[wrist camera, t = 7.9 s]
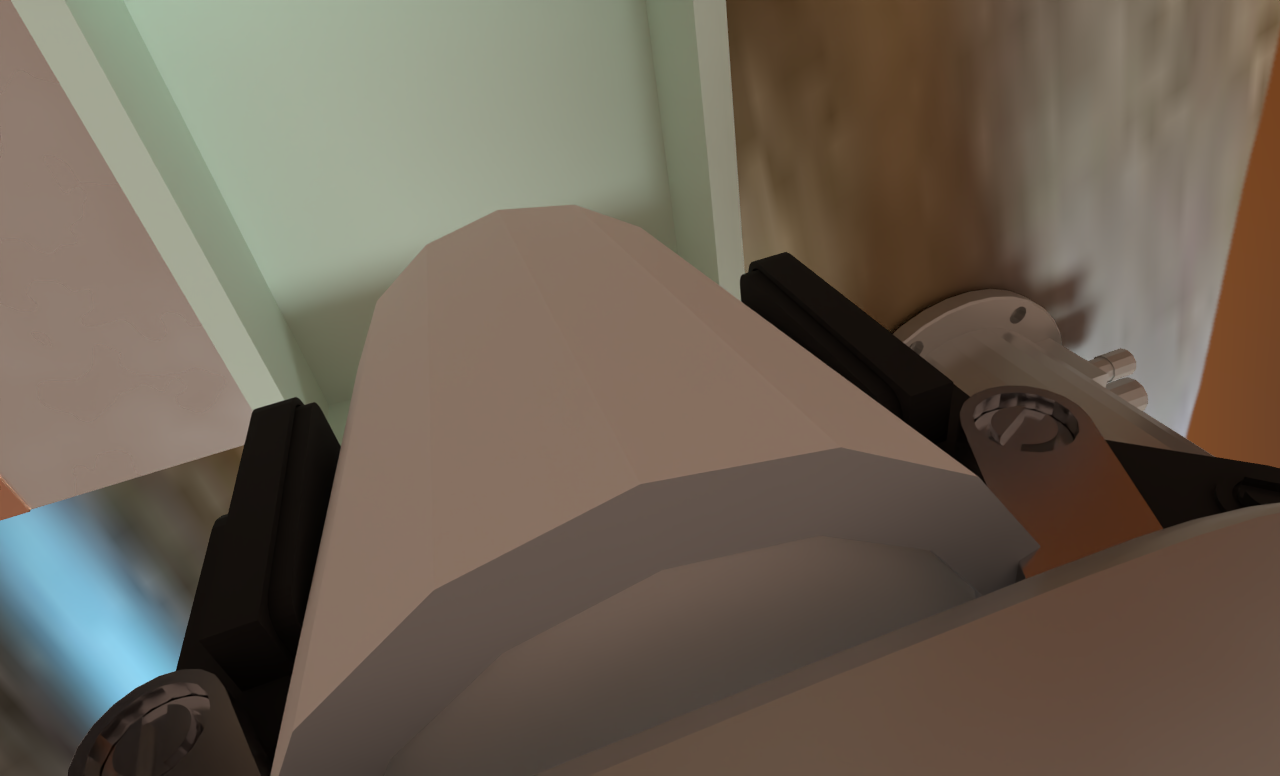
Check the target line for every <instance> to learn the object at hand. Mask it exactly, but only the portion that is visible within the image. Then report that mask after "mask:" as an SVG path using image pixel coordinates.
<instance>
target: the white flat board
mask: <svg viewBox="0 0 1280 776" xmlns="http://www.w3.org/2000/svg"><path fill="white" fill-rule="evenodd" d="M252 412H253V411H252V409H251V407H250V405H249V404H248V402H247V400H246V399H245V397H244V395H243V394H242V392H241V390H240V389H239V387H238V385H237V383H236V382H235V380H234V378H233V377H232V375H231V373H230V372H229V370H228V368H227V366H226V365H225V363H224V361H223V360H222V358H221V356H220V355H219V353H218V351H217V349H216V348H215V346H214V344H213V343H212V341H211V339H210V338H209V336H208V334H207V333H206V331H205V329H204V327H203V326H202V324H201V322H200V321H199V319H198V317H197V316H196V314H195V312H194V310H193V309H192V307H191V305H190V304H189V302H188V300H187V299H186V297H185V295H184V294H183V292H182V290H181V288H180V287H179V285H178V283H177V282H176V280H175V278H174V277H173V275H172V273H171V271H170V270H169V268H168V266H167V265H166V263H165V261H164V260H163V258H162V256H161V254H160V253H159V251H158V249H157V248H156V246H155V244H154V243H153V241H152V239H151V238H150V236H149V234H148V232H147V231H146V229H145V227H144V226H143V224H142V222H141V221H140V219H139V217H138V215H137V214H136V212H135V210H134V209H133V207H132V205H131V204H130V202H129V200H128V198H127V197H126V195H125V193H124V192H123V190H122V188H121V187H120V185H119V183H118V182H117V180H116V178H115V176H114V175H113V173H112V171H111V170H110V168H109V166H108V165H107V163H106V161H105V159H104V158H103V156H102V154H101V153H100V151H99V149H98V148H97V146H96V144H95V143H94V141H93V139H92V137H91V136H90V134H89V132H88V131H87V129H86V127H85V126H84V124H83V122H82V120H81V119H80V117H79V115H78V114H77V112H76V110H75V109H74V107H73V105H72V103H71V102H70V100H69V98H68V97H67V95H66V93H65V92H64V90H63V88H62V87H61V85H60V83H59V81H58V80H57V78H56V76H55V75H54V73H53V71H52V70H51V68H50V66H49V64H48V63H47V61H46V59H45V58H44V56H43V54H42V53H41V51H40V49H39V48H38V46H37V44H36V42H35V41H34V39H33V37H32V36H31V34H30V32H29V31H28V29H27V27H26V25H25V24H24V22H23V20H22V19H21V17H20V15H19V14H18V12H17V10H16V8H15V7H14V5H13V3H12V2H11V0H0V520H3V519H7V518H10V517H13V516H17V515H20V514H23V513H26V512H30V510H31V509H34V508H37V507H41V506H44V505H47V504H51V503H54V502H57V501H61V500H64V499H67V498H70V497H74V496H77V495H80V494H84V493H87V492H90V491H93V490H97V489H100V488H103V487H107V486H110V485H113V484H117V483H120V482H123V481H126V480H130V479H133V478H136V477H140V476H143V475H146V474H149V473H153V472H156V471H159V470H163V469H166V468H169V467H173V466H176V465H179V464H182V463H186V462H189V461H192V460H196V459H199V458H202V457H206V456H209V455H212V454H215V453H219V452H222V451H225V450H229V449H232V448H235V447H238V446H242V445H244V444H245V440H246V436H247V432H248V427H249V423H250V419H251V415H252Z"/></svg>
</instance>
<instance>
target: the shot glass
mask: <svg viewBox="0 0 1280 776" xmlns="http://www.w3.org/2000/svg"><path fill="white" fill-rule="evenodd" d="M1040 547H1041V546H1040V545H1039V544H1038V543H1037V542H1036V541H1035V540H1034V538H1033V537H1032V536H1031V535H1030V534H1029V533H1028V532H1027V531H1026V529H1025V528H1024V527H1023V526H1022V525H1021V524H1020V523H1019V522H1018V520H1017V519H1016V518H1015V517H1014V516H1013V515H1012V514H1011V513H1010V512H1009V510H1008V509H1007V508H1006V507H1005V506H1004V505H1003V504H1002V503H1001V501H1000V500H999V499H998V498H997V497H996V496H995V495H994V494H993V493H992V491H991V490H990V489H989V488H988V487H987V486H986V485H985V484H984V482H983V481H982V480H981V479H980V478H979V477H978V476H977V475H975V474H974V473H973V472H971V471H970V470H969V469H967V468H966V467H965V466H963V465H962V464H960V463H959V462H958V461H956V460H955V459H954V458H952V457H951V456H950V455H948V454H947V453H946V452H944V451H943V450H942V449H940V448H939V447H937V446H936V445H935V444H933V443H932V442H931V441H929V440H928V439H927V438H925V437H924V436H923V435H921V434H920V433H918V432H917V431H916V430H914V429H913V428H912V427H910V426H909V425H908V424H906V423H905V422H904V421H902V420H901V419H900V418H898V417H897V416H895V415H894V414H893V413H891V412H890V411H889V410H887V409H886V408H885V407H883V406H882V405H881V404H879V403H878V402H876V401H875V400H874V399H872V398H871V397H870V396H868V395H867V394H866V393H864V392H863V391H862V390H860V389H859V388H858V387H856V386H855V385H853V384H852V383H851V382H849V381H848V380H847V379H845V378H844V377H843V376H841V375H840V374H839V373H837V372H836V371H834V370H833V369H832V368H830V367H829V366H828V365H826V364H825V363H824V362H822V361H821V360H820V359H818V358H817V357H816V356H814V355H813V354H811V353H810V352H809V351H807V350H806V349H805V348H803V347H802V346H801V345H799V344H798V343H797V342H795V341H794V340H792V339H791V338H790V337H788V336H787V335H786V334H784V333H783V332H782V331H780V330H779V329H778V328H776V327H775V326H774V325H772V324H771V323H769V322H768V321H767V320H765V319H764V318H763V317H761V316H760V315H759V314H757V313H756V312H755V311H753V310H752V309H750V308H749V307H748V306H746V305H745V304H744V303H742V302H741V301H740V300H738V299H737V298H736V297H734V296H733V295H732V294H730V293H729V292H727V291H726V290H725V289H723V288H722V287H721V286H719V285H718V284H717V283H715V282H714V281H713V280H711V279H710V278H708V277H707V276H706V275H704V274H703V273H702V272H700V271H699V270H698V269H696V268H695V267H694V266H692V265H691V264H690V263H688V262H687V261H685V260H684V259H683V258H681V257H680V256H679V255H677V254H676V253H675V252H673V251H672V250H671V249H669V248H668V247H666V246H665V245H664V244H662V243H661V242H660V241H658V240H657V239H656V238H654V237H653V236H652V235H650V234H649V233H648V232H646V231H645V230H643V229H642V228H641V227H638V226H635V225H632V224H629V223H627V222H624V221H621V220H618V219H615V218H612V217H609V216H606V215H603V214H600V213H597V212H594V211H592V210H589V209H586V208H583V207H580V206H577V205H561V206H547V207H533V208H518V209H504V210H496V211H494V212H492V213H490V214H488V215H486V216H484V217H482V218H480V219H478V220H476V221H474V222H472V223H470V224H468V225H466V226H464V227H462V228H459V229H457V230H455V231H453V232H451V233H449V234H447V235H445V236H443V237H441V238H439V239H437V240H435V241H433V242H431V243H429V244H427V245H426V246H425V247H424V248H423V249H422V250H421V251H420V252H419V254H418V255H417V256H416V257H415V258H414V259H413V260H412V262H411V263H410V264H409V265H408V266H407V267H406V268H405V270H404V271H403V272H402V273H401V274H400V275H399V276H398V278H397V279H396V280H395V281H394V282H393V283H392V284H391V286H390V287H389V288H388V289H387V290H386V291H385V292H384V294H383V295H382V296H381V297H380V298H379V299H378V300H377V302H376V306H375V309H374V313H373V316H372V320H371V323H370V327H369V330H368V334H367V337H366V341H365V344H364V348H363V351H362V355H361V358H360V362H359V365H358V370H357V374H356V379H355V384H354V388H353V393H352V398H351V402H350V407H349V412H348V416H347V421H346V425H345V430H344V435H343V439H342V444H341V449H340V453H339V458H338V463H337V467H336V472H335V477H334V481H333V486H332V491H331V495H330V500H329V505H328V509H327V514H326V519H325V523H324V528H323V533H322V537H321V542H320V546H319V551H318V556H317V560H316V565H315V570H314V574H313V579H312V584H311V588H310V593H309V598H308V602H307V607H306V612H305V616H304V621H303V626H302V630H301V635H300V640H299V644H298V649H297V654H296V658H295V663H294V668H293V672H292V677H291V681H290V686H289V691H288V695H287V700H286V705H285V709H284V714H283V719H282V723H281V728H280V733H279V737H278V742H277V747H276V751H275V756H274V761H273V765H272V770H271V775H270V776H533V775H536V774H538V773H541V772H543V771H546V770H548V769H550V768H553V767H555V766H558V765H560V764H563V763H565V762H568V761H570V760H573V759H575V758H578V757H580V756H582V755H585V754H587V753H590V752H592V751H595V750H597V749H600V748H602V747H605V746H607V745H610V744H612V743H615V742H617V741H620V740H622V739H625V738H627V737H630V736H632V735H635V734H637V733H640V732H642V731H645V730H647V729H650V728H652V727H655V726H657V725H660V724H662V723H665V722H667V721H670V720H672V719H675V718H677V717H679V716H682V715H684V714H687V713H689V712H692V711H694V710H697V709H699V708H702V707H704V706H707V705H709V704H712V703H714V702H717V701H719V700H722V699H724V698H727V697H729V696H732V695H734V694H737V693H739V692H742V691H744V690H747V689H749V688H752V687H754V686H757V685H759V684H762V683H764V682H767V681H769V680H772V679H774V678H777V677H779V676H782V675H784V674H787V673H789V672H792V671H794V670H797V669H799V668H802V667H804V666H807V665H809V664H812V663H814V662H817V661H819V660H822V659H824V658H827V657H829V656H832V655H834V654H837V653H839V652H842V651H844V650H847V649H849V648H852V647H855V646H857V645H860V644H862V643H865V642H867V641H870V640H872V639H875V638H877V637H880V636H882V635H885V634H887V633H890V632H893V631H895V630H898V629H900V628H903V627H905V626H908V625H910V624H913V623H915V622H918V621H920V620H923V619H925V618H928V617H931V616H933V615H936V614H938V613H941V612H943V611H946V610H948V609H951V608H953V607H956V606H958V605H961V604H963V603H966V602H969V601H971V600H974V599H976V598H979V597H981V596H984V595H986V594H989V593H991V592H994V591H996V590H999V589H1001V588H1004V587H1007V586H1009V585H1012V584H1014V583H1015V581H1016V575H1017V570H1018V562H1019V561H1020V560H1021V559H1023V558H1024V557H1026V556H1027V555H1029V554H1030V553H1032V552H1033V551H1035V550H1037V549H1038V548H1040Z"/></svg>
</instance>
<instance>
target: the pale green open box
mask: <svg viewBox="0 0 1280 776" xmlns="http://www.w3.org/2000/svg"><path fill="white" fill-rule="evenodd" d="M11 2H12V3H13V5H14V7H15V8H16V10H17V12H18V14H19V15H20V17H21V19H22V20H23V22H24V24H25V25H26V27H27V29H28V31H29V32H30V34H31V36H32V37H33V39H34V41H35V42H36V44H37V46H38V48H39V49H40V51H41V53H42V54H43V56H44V58H45V59H46V61H47V63H48V64H49V66H50V68H51V70H52V71H53V73H54V75H55V76H56V78H57V80H58V81H59V83H60V85H61V87H62V88H63V90H64V92H65V93H66V95H67V97H68V98H69V100H70V102H71V103H72V105H73V107H74V109H75V110H76V112H77V114H78V115H79V117H80V119H81V120H82V122H83V124H84V126H85V127H86V129H87V131H88V132H89V134H90V136H91V137H92V139H93V141H94V143H95V144H96V146H97V148H98V149H99V151H100V153H101V154H102V156H103V158H104V159H105V161H106V163H107V165H108V166H109V168H110V170H111V171H112V173H113V175H114V176H115V178H116V180H117V182H118V183H119V185H120V187H121V188H122V190H123V192H124V193H125V195H126V197H127V198H128V200H129V202H130V204H131V205H132V207H133V209H134V210H135V212H136V214H137V215H138V217H139V219H140V221H141V222H142V224H143V226H144V227H145V229H146V231H147V232H148V234H149V236H150V238H151V239H152V241H153V243H154V244H155V246H156V248H157V249H158V251H159V253H160V254H161V256H162V258H163V260H164V261H165V263H166V265H167V266H168V268H169V270H170V271H171V273H172V275H173V277H174V278H175V280H176V282H177V283H178V285H179V287H180V288H181V290H182V292H183V294H184V295H185V297H186V299H187V300H188V302H189V304H190V305H191V307H192V309H193V310H194V312H195V314H196V316H197V317H198V319H199V321H200V322H201V324H202V326H203V327H204V329H205V331H206V333H207V334H208V336H209V338H210V339H211V341H212V343H213V344H214V346H215V348H216V349H217V351H218V353H219V355H220V356H221V358H222V360H223V361H224V363H225V365H226V366H227V368H228V370H229V372H230V373H231V375H232V377H233V378H234V380H235V382H236V383H237V385H238V387H239V389H240V390H241V392H242V394H243V395H244V397H245V399H246V400H247V402H248V404H249V405H250V407H251V409H252V411H253V410H254V409H257V408H260V407H263V406H267V405H270V404H273V403H277V402H280V401H284V400H287V399H290V398H294V397H297V398H299V399H300V400H301V401H302V402H303V403H304V405H306V404H309V403H313V402H315V403H317V404H318V405H319V406H320V408H321V410H322V411H323V413H324V415H325V417H326V419H327V421H328V423H329V425H330V427H331V429H332V431H333V433H334V434H335V436H336V438H337V440H338V442H339V444H340V446H341V444H342V439H343V435H344V430H345V425H346V421H347V416H348V412H349V407H350V402H351V398H352V393H353V388H354V384H355V379H356V374H357V370H358V365H359V362H360V358H361V355H362V351H363V348H364V344H365V341H366V337H367V334H368V330H369V327H370V323H371V320H372V316H373V313H374V309H375V306H376V302H377V300H378V299H379V298H380V297H381V296H382V295H383V294H384V292H385V291H386V290H387V289H388V288H389V287H390V286H391V284H392V283H393V282H394V281H395V280H396V279H397V278H398V276H399V275H400V274H401V273H402V272H403V271H404V270H405V268H406V267H407V266H408V265H409V264H410V263H411V262H412V260H413V259H414V258H415V257H416V256H417V255H418V254H419V252H420V251H421V250H422V249H423V248H424V247H425V246H426V245H427V244H429V243H431V242H433V241H435V240H437V239H439V238H441V237H443V236H445V235H447V234H449V233H451V232H453V231H455V230H457V229H459V228H462V227H464V226H466V225H468V224H470V223H472V222H474V221H476V220H478V219H480V218H482V217H484V216H486V215H488V214H490V213H492V212H494V211H496V210H504V209H518V208H533V207H547V206H561V205H577V206H580V207H583V208H586V209H589V210H592V211H594V212H597V213H600V214H603V215H606V216H609V217H612V218H615V219H618V220H621V221H624V222H627V223H629V224H632V225H635V226H638V227H641V228H642V229H643V230H645V231H646V232H648V233H649V234H650V235H652V236H653V237H654V238H656V239H657V240H658V241H660V242H661V243H662V244H664V245H665V246H666V247H668V248H669V249H671V250H672V251H673V252H675V253H676V254H677V255H679V256H680V257H681V258H683V259H684V260H685V261H687V262H688V263H690V264H691V265H692V266H694V267H695V268H696V269H698V270H699V271H700V272H702V273H703V274H704V275H706V276H707V277H708V278H710V279H711V280H713V281H714V282H715V283H717V284H718V285H719V286H721V287H722V288H723V289H725V290H726V291H727V292H729V293H730V294H732V295H733V296H734V297H736V298H737V299H738V300H740V301H741V294H740V277H741V275H742V274H745V272H744V257H743V243H742V228H741V214H740V199H739V185H738V171H737V156H736V142H735V127H734V113H733V98H732V84H731V69H730V55H729V40H728V26H727V11H726V0H11Z"/></svg>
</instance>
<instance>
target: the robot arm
mask: <svg viewBox="0 0 1280 776" xmlns="http://www.w3.org/2000/svg"><path fill="white" fill-rule="evenodd" d="M740 294H741V302H742V303H744V304H745V305H746V306H748V307H749V308H750V309H752V310H753V311H755V312H756V313H757V314H759V315H760V316H761V317H763V318H764V319H765V320H767V321H768V322H769V323H771V324H772V325H774V326H775V327H776V328H778V329H779V330H780V331H782V332H783V333H784V334H786V335H787V336H788V337H790V338H791V339H792V340H794V341H795V342H797V343H798V344H799V345H801V346H802V347H803V348H805V349H806V350H807V351H809V352H810V353H811V354H813V355H814V356H816V357H817V358H818V359H820V360H821V361H822V362H824V363H825V364H826V365H828V366H829V367H830V368H832V369H833V370H834V371H836V372H837V373H839V374H840V375H841V376H843V377H844V378H845V379H847V380H848V381H849V382H851V383H852V384H853V385H855V386H856V387H858V388H859V389H860V390H862V391H863V392H864V393H866V394H867V395H868V396H870V397H871V398H872V399H874V400H875V401H876V402H878V403H879V404H881V405H882V406H883V407H885V408H886V409H887V410H889V411H890V412H891V413H893V414H894V415H895V416H897V417H898V418H900V419H901V420H902V421H904V422H905V423H906V424H908V425H909V426H910V427H912V428H913V429H914V430H916V431H917V432H918V433H920V434H921V435H923V436H924V437H925V438H927V439H928V440H929V441H931V442H932V443H933V444H935V445H936V446H937V447H939V448H940V449H942V450H943V451H944V452H946V453H947V454H948V455H950V456H951V457H952V458H954V459H955V460H956V461H958V462H959V463H960V464H962V465H963V466H965V467H966V468H967V469H969V470H970V471H971V472H973V473H974V474H975V475H977V476H978V477H979V478H980V479H981V480H982V481H983V482H984V484H985V485H986V486H987V487H988V488H989V489H990V490H991V491H992V493H993V494H994V495H995V496H996V497H997V498H998V499H999V500H1000V501H1001V503H1002V504H1003V505H1004V506H1005V507H1006V508H1007V509H1008V510H1009V512H1010V513H1011V514H1012V515H1013V516H1014V517H1015V518H1016V519H1017V520H1018V522H1019V523H1020V524H1021V525H1022V526H1023V527H1024V528H1025V529H1026V531H1027V532H1028V533H1029V534H1030V535H1031V536H1032V537H1033V538H1034V540H1035V541H1036V542H1037V543H1038V544H1039V545H1040V546H1041V547H1040V548H1038V549H1037V550H1035V551H1033V552H1032V553H1030V554H1029V555H1027V556H1026V557H1024V558H1023V559H1021V560H1020V561H1019V562H1018V570H1017V575H1016V581H1015V583H1014V584H1012V585H1009V586H1007V587H1004V588H1001V589H999V590H996V591H994V592H991V593H989V594H986V595H984V596H981V597H979V598H976V599H974V600H971V601H969V602H966V603H963V604H961V605H958V606H956V607H953V608H951V609H948V610H946V611H943V612H941V613H938V614H936V615H933V616H931V617H928V618H925V619H923V620H920V621H918V622H915V623H913V624H910V625H908V626H905V627H903V628H900V629H898V630H895V631H893V632H890V633H887V634H885V635H882V636H880V637H877V638H875V639H872V640H870V641H867V642H865V643H862V644H860V645H857V646H855V647H852V648H849V649H847V650H844V651H842V652H839V653H837V654H834V655H832V656H829V657H827V658H824V659H822V660H819V661H817V662H814V663H812V664H809V665H807V666H804V667H802V668H799V669H797V670H794V671H792V672H789V673H787V674H784V675H782V676H779V677H777V678H774V679H772V680H769V681H767V682H764V683H762V684H759V685H757V686H754V687H752V688H749V689H747V690H744V691H742V692H739V693H737V694H734V695H732V696H729V697H727V698H724V699H722V700H719V701H717V702H714V703H712V704H709V705H707V706H704V707H702V708H699V709H697V710H694V711H692V712H689V713H687V714H684V715H682V716H679V717H677V718H675V719H672V720H670V721H667V722H665V723H662V724H660V725H657V726H655V727H652V728H650V729H647V730H645V731H642V732H640V733H637V734H635V735H632V736H630V737H627V738H625V739H622V740H620V741H617V742H615V743H612V744H610V745H607V746H605V747H602V748H600V749H597V750H595V751H592V752H590V753H587V754H585V755H582V756H580V757H578V758H575V759H573V760H570V761H568V762H565V763H563V764H560V765H558V766H555V767H553V768H550V769H548V770H546V771H543V772H541V773H538V774H536V775H533V776H1280V468H1276V467H1272V466H1267V465H1261V464H1255V463H1248V462H1241V461H1236V460H1230V459H1223V458H1217V457H1214V456H1212V455H1211V454H1209V453H1208V452H1206V451H1205V450H1203V449H1201V448H1200V447H1198V446H1197V445H1195V444H1194V443H1192V442H1191V441H1189V440H1187V439H1186V438H1184V437H1183V436H1181V435H1179V434H1178V433H1176V432H1175V431H1173V430H1171V429H1170V428H1168V427H1167V426H1165V425H1164V424H1162V423H1160V422H1159V421H1157V420H1156V419H1154V418H1152V417H1151V416H1149V415H1148V414H1146V413H1145V412H1143V410H1145V408H1146V406H1147V404H1148V397H1147V393H1146V391H1145V389H1144V387H1143V386H1142V385H1141V384H1140V383H1139V382H1137V381H1136V380H1134V379H1131V378H1128V377H1127V378H1122V377H1125V376H1127V375H1130V374H1133V372H1134V371H1135V369H1136V361H1135V359H1134V356H1133V355H1132V354H1131V353H1130V352H1129V351H1128V350H1125V349H1121V348H1120V349H1117V350H1114V351H1111V352H1109V353H1106V354H1103V355H1100V356H1097V357H1095V358H1094V359H1093V360H1090V361H1087V360H1085V359H1083V358H1081V357H1080V356H1078V355H1077V354H1075V353H1073V352H1072V351H1070V350H1068V349H1067V348H1065V347H1063V346H1062V339H1061V334H1060V331H1059V329H1058V327H1057V324H1056V322H1055V320H1054V319H1053V318H1052V316H1051V315H1050V314H1049V313H1048V312H1047V311H1046V310H1045V309H1044V308H1043V307H1041V306H1040V305H1038V304H1036V303H1035V302H1033V301H1031V300H1030V299H1028V298H1026V297H1025V296H1022V295H1019V294H1017V293H1014V292H1012V291H1007V290H997V289H986V290H978V291H970V292H967V293H963V294H960V295H957V296H954V297H951V298H948V299H945V300H944V301H942V302H940V303H938V304H936V305H934V306H932V307H930V308H928V309H926V310H924V311H922V312H921V313H919V314H918V315H917V316H915V317H914V318H912V319H911V320H909V321H908V322H906V323H905V324H904V325H902V326H901V327H900V328H899V329H897V330H896V331H895V332H894V333H893V334H892V333H890V332H889V331H888V330H887V329H885V328H884V327H883V326H882V325H880V324H879V323H878V322H876V321H875V320H874V319H873V318H871V317H870V316H869V315H867V314H866V313H865V312H864V311H862V310H861V309H860V308H859V307H857V306H856V305H855V304H853V303H852V302H851V301H850V300H848V299H847V298H846V297H844V296H843V295H842V294H841V293H839V292H838V291H837V290H836V289H834V288H833V287H832V286H830V285H829V284H828V283H827V282H825V281H824V280H823V279H822V278H820V277H819V276H818V275H816V274H815V273H814V272H813V271H811V270H810V269H809V268H807V267H806V266H805V265H804V264H802V263H801V262H800V261H799V260H797V259H796V258H795V257H793V256H792V255H791V254H789V253H787V252H784V253H781V254H777V255H774V256H771V257H767V258H764V259H760V260H757V261H754V262H751V264H750V266H749V270H748V273H746V274H742V275H741V277H740ZM1119 378H1122V379H1119ZM1116 379H1118V380H1116ZM1113 380H1116V381H1113ZM1110 381H1113V382H1110ZM1107 382H1110V383H1107ZM340 449H341V446H340V444H339V442H338V440H337V438H336V436H335V434H334V433H333V431H332V429H331V427H330V425H329V423H328V421H327V419H326V417H325V415H324V413H323V411H322V410H321V408H320V406H319V405H318V404H317V403H315V402H313V403H309V404H306V405H304V403H303V402H302V401H301V400H300V399H299V398H297V397H294V398H290V399H287V400H284V401H280V402H277V403H273V404H270V405H267V406H263V407H260V408H257V409H254V410H253V412H252V415H251V419H250V423H249V427H248V432H247V436H246V440H245V444H244V449H243V453H242V457H241V461H240V466H239V470H238V474H237V478H236V483H235V487H234V491H233V496H232V500H231V504H230V508H229V513H228V514H227V515H223V516H221V517H220V518H218V519H217V520H216V521H215V524H214V526H213V528H212V532H211V535H210V539H209V543H208V547H207V551H206V555H205V559H204V563H203V567H202V571H201V575H200V579H199V582H198V586H197V590H196V594H195V598H194V602H193V606H192V610H191V614H190V618H189V622H188V626H187V629H186V633H185V637H184V641H183V645H182V649H181V653H180V657H179V661H178V665H177V669H176V671H175V672H171V673H168V674H165V675H161V676H158V677H157V678H155V679H153V680H151V681H149V682H147V683H145V684H143V685H141V686H139V687H137V688H135V689H134V690H133V691H131V692H130V693H129V694H127V695H126V696H125V697H123V698H122V699H121V700H119V701H118V702H117V703H115V704H114V705H113V706H112V707H111V708H110V709H109V710H108V711H107V712H106V713H105V714H104V715H103V716H102V717H101V718H100V719H99V720H98V721H97V722H96V723H95V724H94V725H93V726H92V728H91V729H90V730H89V732H88V733H87V735H86V736H85V737H84V739H83V740H82V742H81V743H80V745H79V746H78V747H77V750H76V752H75V754H74V757H73V759H72V762H71V764H70V766H69V769H68V776H270V775H271V770H272V765H273V761H274V756H275V751H276V747H277V742H278V737H279V733H280V728H281V723H282V719H283V714H284V709H285V705H286V700H287V695H288V691H289V686H290V681H291V677H292V672H293V668H294V663H295V658H296V654H297V649H298V644H299V640H300V635H301V630H302V626H303V621H304V616H305V612H306V607H307V602H308V598H309V593H310V588H311V584H312V579H313V574H314V570H315V565H316V560H317V556H318V551H319V546H320V542H321V537H322V533H323V528H324V523H325V519H326V514H327V509H328V505H329V500H330V495H331V491H332V486H333V481H334V477H335V472H336V467H337V463H338V458H339V453H340Z"/></svg>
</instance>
